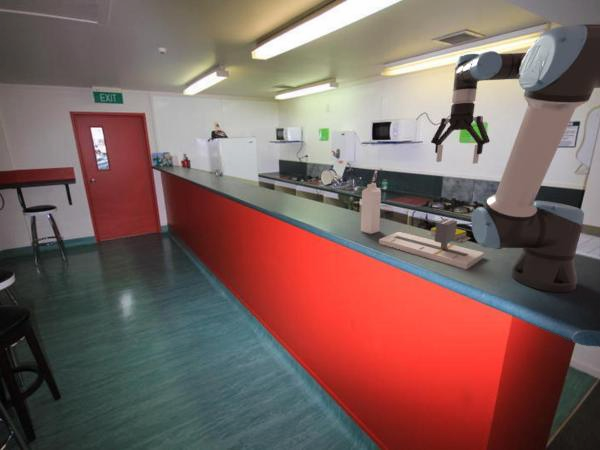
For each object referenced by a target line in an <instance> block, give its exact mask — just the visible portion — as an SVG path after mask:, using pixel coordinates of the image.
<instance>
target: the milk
mask: <svg viewBox="0 0 600 450" xmlns="http://www.w3.org/2000/svg"><path fill="white" fill-rule="evenodd" d="M366 186H367V188H365V189H362V191H361V212H360V213H361V215H360V216H361V217H360V218H361V219H360V231H361V232H362V233H367V234H370V235H372V234H375V233H378V232H380V221H381V217H380V216H381V203H382V200H381V199H382V197H381V196H382V190H381V189H380V188H378V187H377V183H376V182H375V183H369V184H367V185H366Z"/></svg>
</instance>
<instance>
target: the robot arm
mask: <svg viewBox="0 0 600 450" xmlns="http://www.w3.org/2000/svg"><path fill="white" fill-rule="evenodd" d="M498 80H500V81H502V80H503V81H504V80H518V82H519V85H520V88H521V89H523V90H525V91H524V93H523V98H524V100H525V101H526V102H527V104H528V105H527V106H526V107H527V108H526V110H525V113H524V115H523V117H522V121H521V124H520V126H519V128H518V132H517V134H516V138H515V140H514V144H513V145H512V148H511V151H510V154H509V157H508V160H507V162H506V165H505V168H504V171H503V172H502V173H503V174H502V176H501V179H500V182H499V185H498V188H497V190H496V193H495V194H493V195H491V196H489V197H488V198H487V199H486V201H485V205H484V207H483V206H479V207H477V208H475V209H474V210H473V211H472V214H471V230H472V234H473V237H474V239H475V241H476V242H477V244H478V245H479V246H481V247H482V248H485V249H496V250H497V249H522V252H521V253H520V254H519V256H518V257H517V258H516V260H515V262H514V263H513V265H512V267H511V271H510V272H511V273H510V276H511V277H512V278H513V279H514V280H515V281H517V282H519V283H521V285H525V286H528V287H530V288H534V289H537V290H541V291H545V292H546V291H547V292H552V293H569V292H572V291H575V290H576V288H577V283H578V277H577V273H576V266H575V261H574V260H575V257H576V256H575V255H576V253H577V252H576V251H577V247H578V244H579V241H580V236H581V233H582V229H583V227H584V218H585V212H584V211H583V210H582V209H581V208H579V207H575V206H572V205H568V204H564V203H559V202H553V201H546V200H536V198H537V195H538V193H539V190H540V188H541V187H542V184H543V182H544V180H545V177H546V175H547V173H548V170H549V169H550V166H551V164H552V162H553V160H554V157H555V154H556V153H557V151H558V148H559V147H560V145H561V141H562V140H563V138H564V135H565V133H566V131H567V128H568V126H569V124H570V121H571V119H572V117H573V115H574V113H575V111H576V109H577V108H579V107H580V106H582V105H584V104H586V103H588V102H589V100H590V98H591V97H592V93H593V92H594V90H595V89H600V23H585V24H584V23H583V24H582V23H576V24H575V23H574V24H569V25H562V26H556V27H552V28H550V29H548V30H547V31H545V32H543V33H542V34H541V35H540V36H539V37H538V38H537V39H536V40H534V42H533V43H532V44H531V46H529V48H528V50H527V51H526V52H515V53H514V52H513V53H511V52H510V53H498V52H496V51H492V50H490V51H485V52H482V53H468V54H463V55H460V56H459V57H457V59H456V63H455V67H454V80H453V89H452V98H451V103H452V105H451V107H450V117H449V118H446V117H444V118H443V117H442V118H441V120H440V125H439V126H438V128H437V130H436V131H435V133H434V135H433V137H432V139H431V141H430V142H431V144H434V145H435V151H434V153H435V154H436V158H435V159H436V163H440V162H442V161H443V160H442V159H443V150H444V149H443V148H444V144H442V143H443V142H445V140H446V139H447V138H448V136H449V135H451V133H453V132H454V131H462V130H463V131H465V130H466V131H467V132H468V133H469V134H470V136H471V137H472V138H473V140H474V141H475V142H476V144H475V145H474V150H473V156H472V157H473V158H472V164H478V163H479V159H480V155H482V154H483V148H484V147H483V146H484V145H486V144H488V143H490V137H489V136H488V133H487V131H486V130H487V129H486V128H485V126H484V123H483V122H484V118H483V116H482V115H477V116H474V114H475V107H476V106H475V103H474V102H475V101H476V97H477V89H478V82H482V81H498ZM473 122H474V123H475V124H476V126H477V130H478V131H479V134H478V133H477V131H476V129H475V128H474V126H473V125H472V123H473ZM448 124H450V125H448ZM447 125H448V127H447ZM446 127H447V129H446V130H445V128H446ZM444 130H445V131H444ZM443 132H444V133H443Z"/></svg>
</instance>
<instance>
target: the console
mask: <svg viewBox="0 0 600 450" xmlns="http://www.w3.org/2000/svg"><path fill="white" fill-rule="evenodd" d="M378 244H379V245H382V246H385V245H386V247H389V248H392V247H393V248H392V249H395V248H396V249H395V250H399V249H400V250H399V251H402V250H403V252H407V253H409V252H410V254H413V255H416V256H419V257H423V258H427V259H430V260H433V261H437V262H441V263H443V264H447V265H450V266H454V267H457V268H460V269H464V270H468V269H470V268H471V267H472V266H474V265H475V264H476V263H478V262H479V261H481V260H483V259H484V256H485V252H483V251H479V250H475V249H473V248H466V247H463V246H458V245H456V244H451V243H448V245H447V248H446V249H442V248H441V243H439V242H435V239H430V238H425V237H421V236H417V235H413V234H409V233H406V232H405V233H404V232H401V231H397V232H394V233H392V234H389V235H386V236H383V237H381V238H379V240H378Z"/></svg>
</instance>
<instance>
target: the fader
mask: <svg viewBox="0 0 600 450" xmlns="http://www.w3.org/2000/svg"><path fill="white" fill-rule="evenodd" d="M457 223H458V221H457V220H455V219H450V218H445V219H442V220H440V221H438V222H436V223H435V227H436V232H435V236H434V240H435V242H439V243H441V248H442V249H446V248H447V245H448V244H450V243H451V242H454V241H453V240H455V234H456V229H457V225H458V224H457Z"/></svg>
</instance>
